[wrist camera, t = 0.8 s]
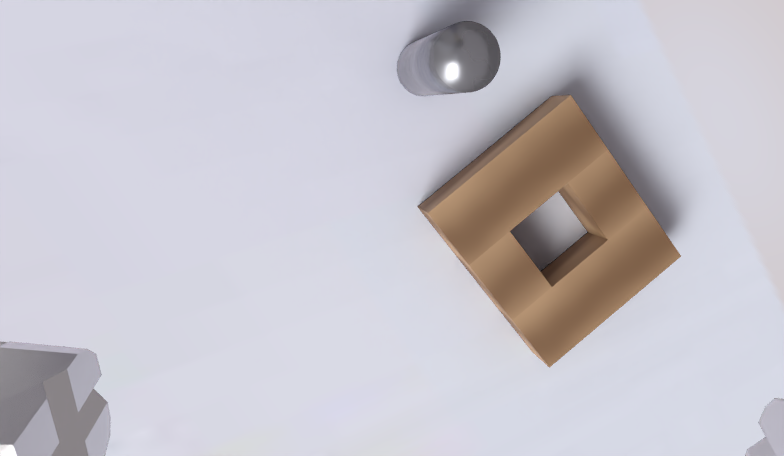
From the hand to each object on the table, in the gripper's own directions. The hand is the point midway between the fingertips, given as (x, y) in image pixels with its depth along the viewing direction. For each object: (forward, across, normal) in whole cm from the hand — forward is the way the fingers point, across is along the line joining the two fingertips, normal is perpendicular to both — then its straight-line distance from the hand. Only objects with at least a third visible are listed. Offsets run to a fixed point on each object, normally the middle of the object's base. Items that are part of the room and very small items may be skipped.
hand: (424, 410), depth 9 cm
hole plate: (+37, -9, +17) cm, 42 cm away
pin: (+39, 0, +7) cm, 39 cm away
